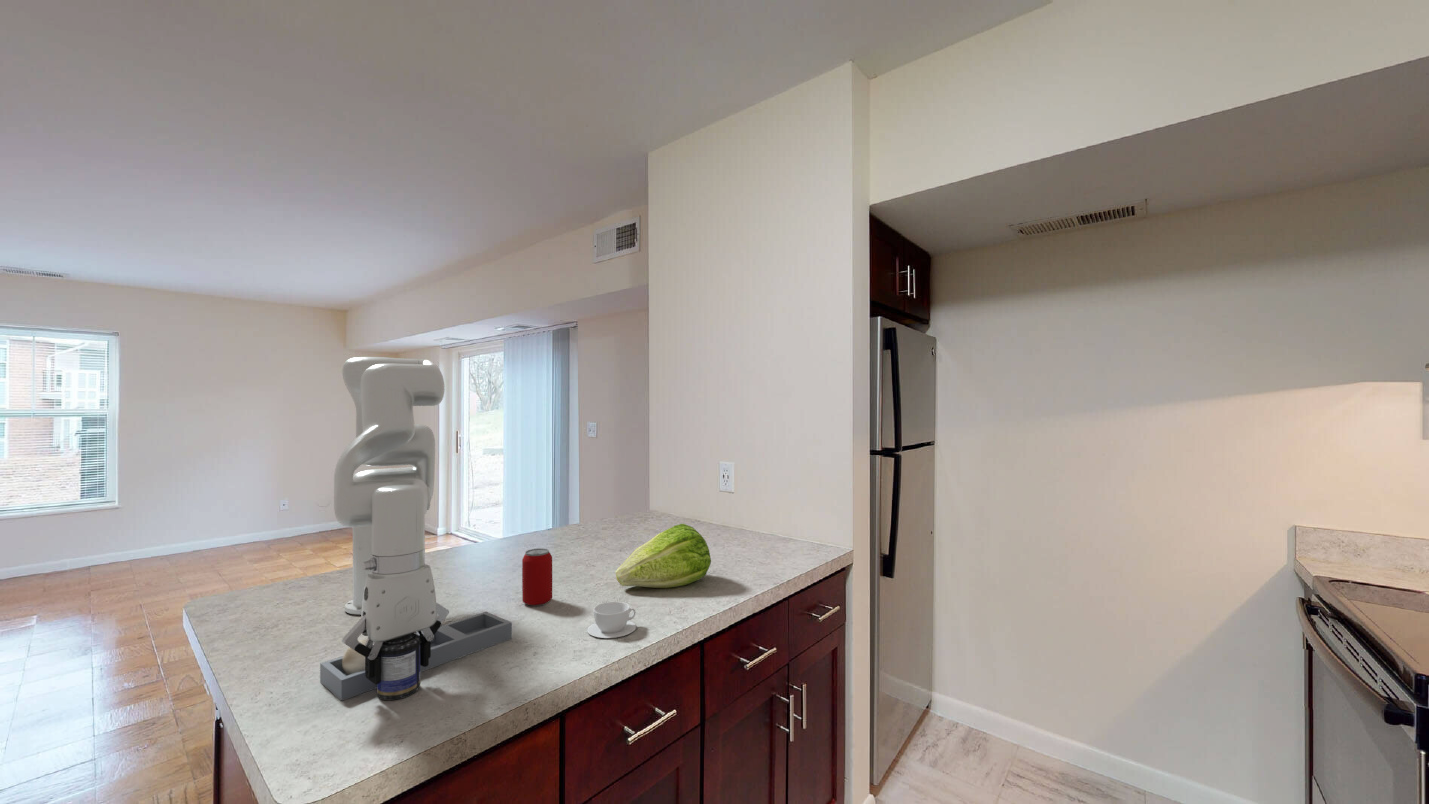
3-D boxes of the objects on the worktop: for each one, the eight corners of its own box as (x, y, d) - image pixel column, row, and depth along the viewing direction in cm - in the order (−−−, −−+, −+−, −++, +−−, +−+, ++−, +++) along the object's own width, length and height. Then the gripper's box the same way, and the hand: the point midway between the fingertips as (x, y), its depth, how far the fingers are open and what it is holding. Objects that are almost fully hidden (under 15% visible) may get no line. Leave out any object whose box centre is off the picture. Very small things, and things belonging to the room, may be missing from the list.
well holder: (320, 682, 94) (320, 663, 94) (486, 626, 117) (486, 611, 117) (341, 700, 88) (341, 680, 88) (511, 638, 111) (511, 622, 111)
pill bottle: (388, 683, 93) (388, 616, 93) (426, 681, 94) (426, 615, 94) (369, 702, 87) (369, 631, 87) (410, 700, 88) (409, 630, 88)
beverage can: (556, 597, 135) (556, 547, 135) (545, 608, 128) (545, 555, 128) (529, 597, 135) (529, 547, 135) (517, 607, 128) (517, 554, 129)
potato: (336, 677, 94) (336, 641, 94) (375, 664, 99) (375, 630, 99) (350, 688, 90) (350, 651, 90) (390, 674, 95) (390, 639, 95)
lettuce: (637, 619, 133) (623, 606, 148) (723, 571, 143) (702, 563, 157) (614, 562, 133) (601, 555, 147) (702, 518, 143) (682, 515, 157)
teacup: (594, 644, 109) (594, 620, 109) (582, 626, 118) (581, 604, 118) (643, 634, 113) (643, 611, 113) (627, 617, 122) (627, 596, 122)
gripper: (346, 579, 82) (347, 702, 81) (462, 554, 95) (462, 659, 95) (328, 570, 86) (328, 686, 86) (441, 547, 100) (441, 648, 100)
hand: (399, 671), depth 91 cm, fingers open, 6 cm apart
